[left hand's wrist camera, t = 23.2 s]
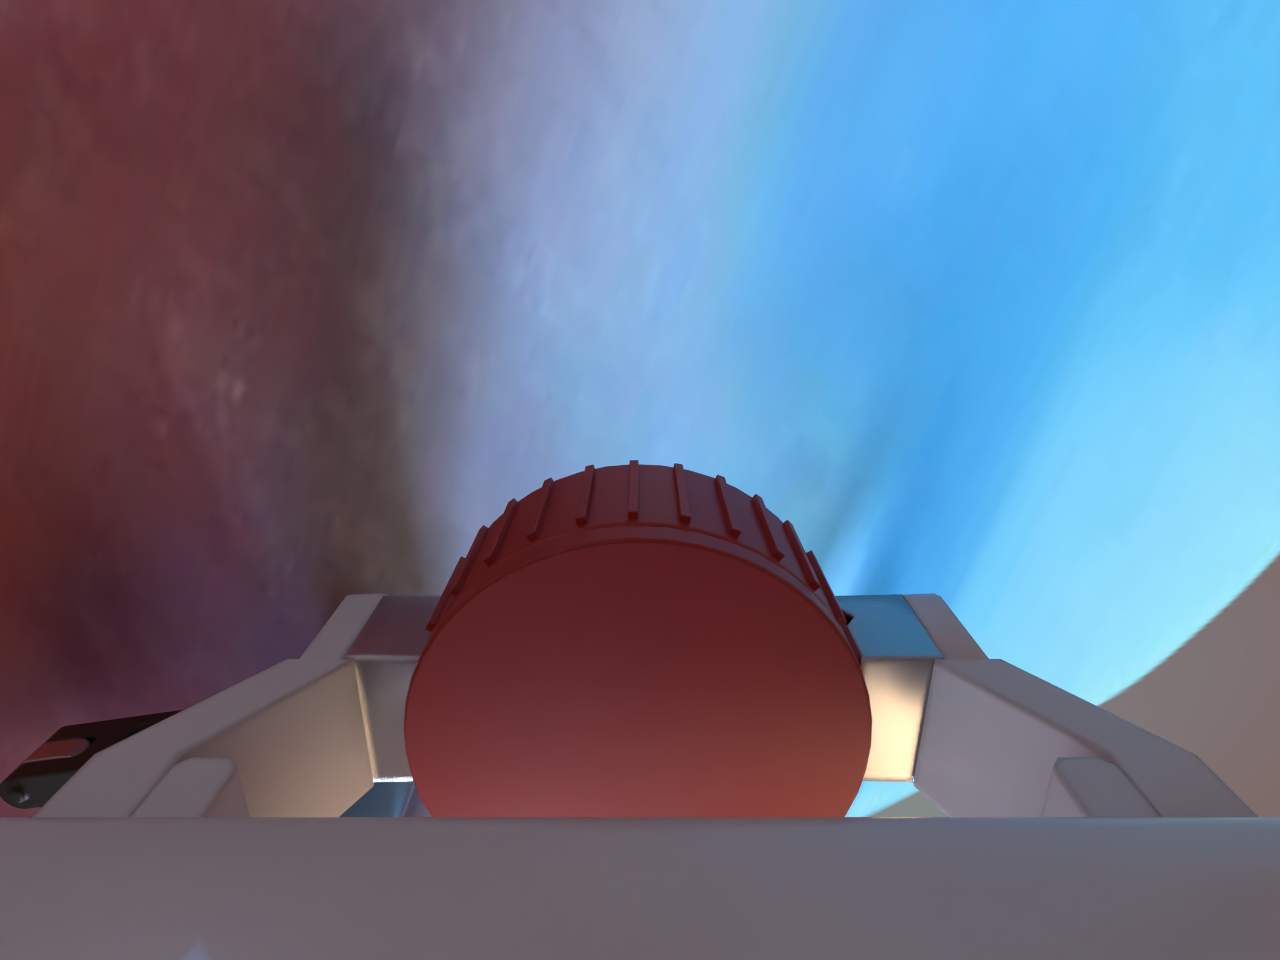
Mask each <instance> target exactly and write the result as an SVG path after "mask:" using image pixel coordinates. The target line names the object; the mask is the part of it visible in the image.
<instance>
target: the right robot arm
mask: <svg viewBox="0 0 1280 960" xmlns="http://www.w3.org/2000/svg"><path fill="white" fill-rule="evenodd" d="M181 711H183V710H179V711H172V712H165V713H157V714H150V715H143V716H136V717H128V718H121V719H114V720H107V721H100V722H92V723H85V724H78V725H71V726H65V727H62V728H60V729H59V730H58V731H57V732H56V733H55V734H53V735H52V736H51V737H50V738H49V739H48V740H47V741H46V742H45V743H43V744H42V745H41V746H40V747H39V748H38V749H36V750H35V751H34V752H33V753H32V754H31V755H30V756H29V757H28V758H27V759H26V760H25V761H24V762H22V763H21V764H20V765H19V766H18V768H17V769H16V770H15V771H14V772H12V773H11V774H10V775H9V776H8V777H7V778H6V779H5V780H4V781H3V782H2V783H1V784H0V796H1V797H2V799H3V800H4V801H6V802H7V803H8V804H10V805H12V806H14V807H17V808H23V809H27V808H35V807H43V806H44V805H45V804H46V803H47V802H48V801H49V800H50V799H51V798H52V797H53V796H54V795H55V794H56V793H57V792H58V791H59V790H60V789H61V788H62V787H63V785H64V784H65V783H66V782H67V781H68V780H69V779H70V778H71V777H72V776H73V775H74V774H75V773H76V772H77V771H78V770H79V769H80V768H81V767H82V766H83V765H84V764H85V763H86V762H87V761H88V760H89V759H90V758H91V757H92V756H93V755H94V754H96V753H98V752H100V751H102V750H104V749H106V748H108V747H110V746H112V745H114V744H116V743H118V742H120V741H122V740H124V739H126V738H128V737H130V736H132V735H134V734H136V733H138V732H140V731H142V730H144V729H146V728H148V727H151V726H153V725H155V724H157V723H159V722H161V721H163V720H165V719H167V718H169V717H171V716H173V715H175V714H177V713H179V712H181Z"/></svg>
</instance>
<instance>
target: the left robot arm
mask: <svg viewBox="0 0 1280 960" xmlns="http://www.w3.org/2000/svg"><path fill="white" fill-rule="evenodd" d="M441 596H442V595H396V594H389V595H386V594H353V595H348V596H346V597H345V598H344V600H343V601H342V602H341V604H340V605H339V606H338V608H337V609H336V610H335V611H334V613H333V614H332V615H331V617H330V618H329V619H328V621H327V622H326V623H325V625H324V626H323V627H322V629H321V630H320V631H319V633H318V634H317V635H316V637H315V638H314V639H313V641H312V642H311V643H310V645H309V646H308V647H307V649H306V650H305V651H304V653H303V654H302V655H301V657H300V658H299V659H286V660H284V661H282V662H280V663H278V664H276V665H274V666H272V667H270V668H268V669H266V670H264V671H262V672H260V673H258V674H256V675H254V676H252V677H250V678H248V679H246V680H244V681H242V682H240V683H238V684H236V685H234V686H232V687H230V688H228V689H226V690H224V691H222V692H220V693H217V694H215V695H213V696H211V697H209V698H207V699H205V700H203V701H201V702H199V703H197V704H195V705H193V706H191V707H189V708H187V709H185V710H183V711H181V712H179V713H177V714H175V715H173V716H171V717H169V718H167V719H165V720H163V721H161V722H159V723H157V724H155V725H153V726H151V727H148V728H146V729H144V730H142V731H140V732H138V733H136V734H134V735H132V736H130V737H128V738H126V739H124V740H122V741H120V742H118V743H116V744H114V745H112V746H110V747H108V748H106V749H104V750H102V751H100V752H98V753H96V754H94V755H93V756H92V757H91V758H90V759H89V760H88V761H87V762H86V763H85V764H84V765H83V766H82V767H81V768H80V769H79V770H78V771H77V772H76V773H75V774H74V775H73V776H72V777H71V778H70V779H69V780H68V781H67V782H66V783H65V784H64V785H63V787H62V788H61V789H60V790H59V791H58V792H57V793H56V794H55V795H54V796H53V797H52V798H51V799H50V800H49V801H48V802H47V803H46V804H45V805H44V806H43V807H42V808H41V809H40V810H39V811H38V812H37V813H36V814H35V815H34V816H33V817H0V960H1280V817H1258V816H1257V815H1256V814H1255V813H1254V812H1253V811H1252V810H1251V809H1250V808H1249V807H1248V806H1247V805H1246V804H1245V803H1244V802H1243V801H1242V800H1241V799H1240V798H1239V797H1238V796H1237V795H1236V794H1235V793H1234V792H1233V791H1232V790H1231V789H1230V788H1229V787H1228V786H1227V785H1226V784H1225V783H1224V782H1223V781H1222V780H1221V779H1220V778H1219V777H1218V776H1217V775H1216V774H1215V773H1214V772H1213V771H1212V770H1211V769H1210V768H1209V767H1208V766H1207V765H1206V764H1205V763H1204V762H1203V761H1202V760H1201V759H1200V758H1199V757H1198V756H1197V755H1195V754H1193V753H1191V752H1189V751H1187V750H1185V749H1183V748H1181V747H1179V746H1177V745H1175V744H1173V743H1171V742H1169V741H1167V740H1165V739H1163V738H1161V737H1159V736H1157V735H1155V734H1153V733H1150V732H1148V731H1146V730H1144V729H1142V728H1140V727H1138V726H1136V725H1134V724H1132V723H1130V722H1128V721H1126V720H1124V719H1122V718H1120V717H1118V716H1116V715H1114V714H1112V713H1110V712H1108V711H1106V710H1104V709H1101V708H1099V707H1097V706H1095V705H1093V704H1091V703H1089V702H1087V701H1085V700H1083V699H1081V698H1079V697H1077V696H1075V695H1073V694H1071V693H1069V692H1067V691H1065V690H1063V689H1061V688H1059V687H1057V686H1054V685H1052V684H1050V683H1048V682H1046V681H1044V680H1042V679H1040V678H1038V677H1036V676H1034V675H1032V674H1030V673H1028V672H1026V671H1024V670H1022V669H1020V668H1018V667H1016V666H1014V665H1012V664H1010V663H1007V662H1005V661H1003V660H1001V659H989V658H988V657H987V656H986V655H985V653H984V652H983V651H982V649H981V648H980V647H979V645H978V644H977V643H976V642H975V640H974V639H973V638H972V636H971V635H970V634H969V633H968V631H967V630H966V629H965V627H964V626H963V625H962V623H961V622H960V621H959V620H958V618H957V617H956V616H955V614H954V613H953V612H952V611H951V609H950V608H949V607H948V605H947V604H946V603H945V601H944V600H943V599H942V598H941V596H938V595H936V594H934V593H932V594H909V595H902V594H899V595H858V596H835V598H836V600H837V602H838V604H839V606H840V608H841V610H842V612H843V614H844V616H845V618H846V620H847V623H846V625H847V627H848V629H849V631H850V633H851V635H852V637H853V639H854V641H855V643H856V645H857V647H858V649H859V651H860V653H861V656H860V662H858V663H859V665H860V667H861V669H862V672H863V676H864V679H865V682H866V686H867V689H868V692H869V698H870V706H871V714H872V739H871V748H870V753H869V758H868V763H867V768H866V772H865V775H864V777H863V780H862V781H895V782H913V785H914V786H915V787H916V788H917V789H918V790H919V791H920V792H922V793H923V794H924V795H925V796H926V797H927V798H928V799H929V800H931V801H932V802H933V803H934V804H935V805H936V806H937V807H938V808H939V809H941V810H942V811H943V812H944V813H945V814H946V815H947V816H949V817H339V816H341V815H342V814H343V813H344V812H345V811H346V810H347V809H348V808H350V807H351V806H352V805H353V804H354V803H355V802H356V801H357V800H358V799H360V798H361V797H362V796H363V795H364V794H365V793H366V792H367V791H369V790H370V789H371V788H372V787H373V786H374V782H392V781H413V779H412V776H411V772H410V768H409V764H408V760H407V756H406V750H405V739H404V714H405V701H406V697H407V693H408V689H409V685H410V681H411V677H412V675H413V672H414V670H415V668H416V665H417V663H418V661H419V658H420V656H421V654H422V651H423V649H424V647H425V645H426V643H427V641H428V639H429V637H430V635H431V633H432V632H430V631H427V630H425V628H426V626H427V624H428V622H429V620H430V618H431V616H432V614H433V612H434V610H435V608H436V606H437V604H438V602H439V600H440V598H441Z"/></svg>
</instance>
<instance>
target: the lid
mask: <svg viewBox="0 0 1280 960" xmlns="http://www.w3.org/2000/svg"><path fill="white" fill-rule="evenodd" d="M846 623H847V620H846V618H845V616H844V614H843V612H842V610H841V608H840V606H839V604H838V602H837V600H836V598H835V596H834V594H833V592H832V590H831V588H830V586H829V584H828V582H827V580H826V578H825V576H824V574H823V572H822V569H821V567H820V565H819V563H818V561H817V559H816V557H815V555H814V554H813V552H812V551H809V552H807V553H806V552H805V550H804V549H803V546H802V544H801V542H800V540H799V538H798V536H797V534H796V532H795V529H794V527H793V525H792V524H791V523H790V522H789V521H788V520H787V521H785V522H784V523H782V521H781V520H780V519H779V518H778V517H777V516H776V515H774V514H773V513H772V512H771V511H769V510H768V509H767V508H766V507H765V505H764V502H763V500H762V498H761V497H760V496H758V495H757V494H755V495H754V496H753V498H752V497H750V496H749V495H747V494H745V493H744V492H742V491H741V490H739V489H737V488H735V487H733V486H731V485H728V484H726V480H725V478H724V477H722V476H720V475H717V476H716V478H713V477H709V476H706V475H703V474H699V473H696V472H693V471H689V470H685V469H683V465H682V464H676V463H675V464H674V468H673V467H667V466H661V465H638V460H630V465H620V466H607V467H602V468H598V469H595V468H594V465H590V466H586V467H585V471H583V472H579V473H576V474H573V475H571V476H568V477H565V478H562V479H559V480H556V481H553V479H552V478H549V479H547V480H545V481H544V483H543V486H542V488H540V489H538V490H536V491H534V492H532V493H530V494H529V495H527V496H526V497H524V498H523V499H522V500H520V501H519V502H517V501H516V500H515V499H512V500H511V501H510V502H508V504H507V507H506V509H505V511H504V513H503V514H502V515H501V516H500V517H499V518H498V519H497V520H496V521H494V522H493V524H492V525H491V526H490V527H489V528H487V527H486V526H484V525H483V526H482V528H481V529H480V530H479V532H478V534H477V536H476V538H475V540H474V542H473V544H472V546H471V548H470V550H469V552H468V555H467V557H466V558H463V557H461V558H460V560H459V562H458V564H457V566H456V568H455V570H454V572H453V574H452V576H451V578H450V580H449V582H448V584H447V586H446V588H445V590H444V592H443V594H442V596H441V598H440V600H439V602H438V604H437V606H436V608H435V610H434V612H433V614H432V616H431V618H430V620H429V622H428V624H427V626H426V628H425V630H427V631H430V632H432V633H431V635H430V637H429V639H428V641H427V643H426V645H425V647H424V649H423V651H422V654H421V656H420V658H419V661H418V663H417V665H416V668H415V670H414V672H413V675H412V677H411V681H410V685H409V689H408V693H407V697H406V701H405V714H404V739H405V750H406V756H407V760H408V764H409V768H410V772H411V776H412V779H413V781H414V783H415V786H416V788H417V790H418V793H419V795H420V798H421V800H422V802H423V803H424V805H425V806H426V808H427V810H428V811H429V813H430V815H431V816H432V817H844V816H845V815H846V813H847V812H848V810H849V808H850V806H851V804H852V803H853V801H854V799H855V797H856V795H857V793H858V791H859V788H860V785H861V783H862V780H863V777H864V775H865V772H866V768H867V763H868V758H869V753H870V748H871V739H872V714H871V706H870V698H869V692H868V689H867V686H866V682H865V679H864V676H863V672H862V669H861V667H860V665H859V663H858V662H860V656H861V653H860V651H859V649H858V647H857V645H856V643H855V641H854V639H853V637H852V635H851V633H850V631H849V629H848V627H847V625H846Z"/></svg>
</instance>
